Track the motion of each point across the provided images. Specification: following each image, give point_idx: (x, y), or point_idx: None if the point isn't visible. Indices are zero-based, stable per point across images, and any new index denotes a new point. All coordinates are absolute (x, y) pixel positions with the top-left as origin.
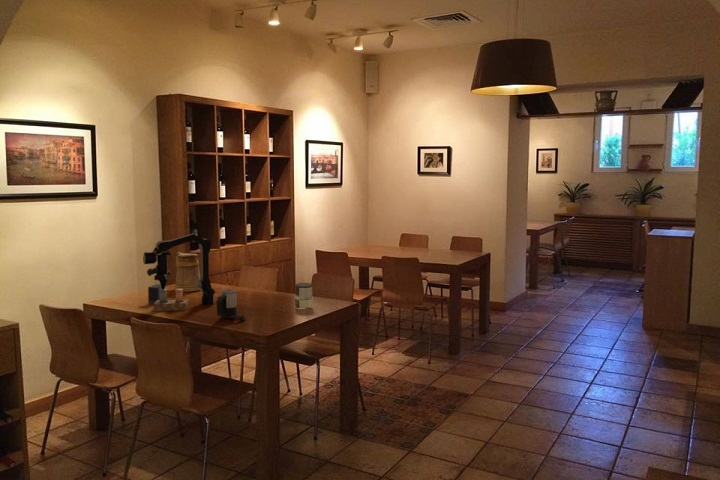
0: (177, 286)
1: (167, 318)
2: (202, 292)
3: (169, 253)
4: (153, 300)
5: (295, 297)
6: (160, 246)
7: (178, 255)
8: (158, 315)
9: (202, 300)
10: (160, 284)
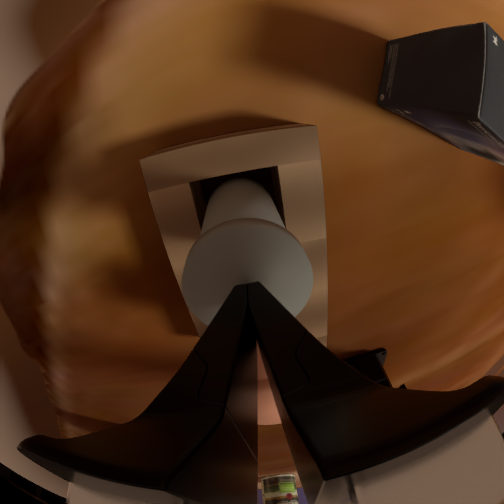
0: None
1: (40, 301)
2: (402, 385)
3: None
4: (397, 75)
5: (275, 493)
6: None
7: None
8: (59, 240)
9: (358, 370)
10: None
